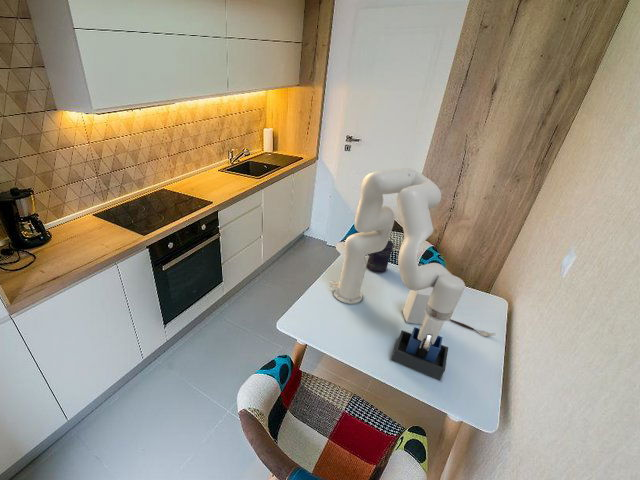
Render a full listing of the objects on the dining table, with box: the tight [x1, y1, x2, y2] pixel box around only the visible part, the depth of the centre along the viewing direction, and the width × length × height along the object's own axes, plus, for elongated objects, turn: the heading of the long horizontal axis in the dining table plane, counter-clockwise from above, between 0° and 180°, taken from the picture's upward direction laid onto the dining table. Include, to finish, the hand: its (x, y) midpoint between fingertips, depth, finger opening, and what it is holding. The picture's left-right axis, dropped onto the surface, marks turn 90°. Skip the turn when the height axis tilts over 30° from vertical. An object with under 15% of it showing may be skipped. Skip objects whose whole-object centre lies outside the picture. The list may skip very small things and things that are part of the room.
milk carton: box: [402, 287, 433, 325], centre depth 129 cm, size 7×7×19 cm
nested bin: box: [406, 326, 443, 363], centre depth 111 cm, size 9×7×6 cm
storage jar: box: [366, 239, 394, 274], centre depth 163 cm, size 10×10×15 cm
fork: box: [449, 318, 495, 337], centre depth 128 cm, size 3×16×2 cm, turn 49°
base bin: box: [390, 330, 449, 381], centre depth 114 cm, size 16×12×5 cm
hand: (421, 348), depth 113 cm, fingers closed on nested bin, 7 cm apart
